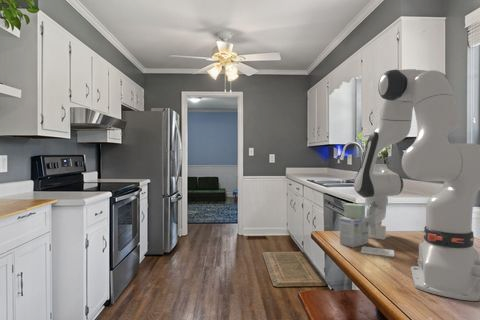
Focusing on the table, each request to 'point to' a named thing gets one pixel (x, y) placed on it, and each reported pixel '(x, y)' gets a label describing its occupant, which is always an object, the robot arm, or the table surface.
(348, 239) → the light bulb box
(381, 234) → the brick
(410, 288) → the table surface
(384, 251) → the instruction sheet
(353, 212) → the brick
